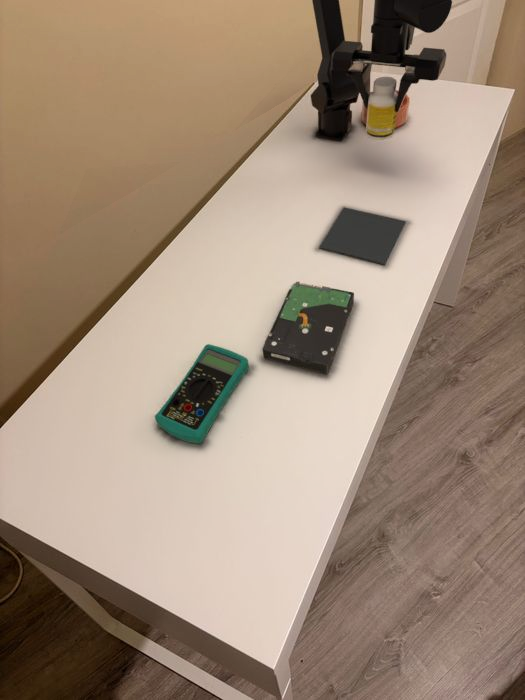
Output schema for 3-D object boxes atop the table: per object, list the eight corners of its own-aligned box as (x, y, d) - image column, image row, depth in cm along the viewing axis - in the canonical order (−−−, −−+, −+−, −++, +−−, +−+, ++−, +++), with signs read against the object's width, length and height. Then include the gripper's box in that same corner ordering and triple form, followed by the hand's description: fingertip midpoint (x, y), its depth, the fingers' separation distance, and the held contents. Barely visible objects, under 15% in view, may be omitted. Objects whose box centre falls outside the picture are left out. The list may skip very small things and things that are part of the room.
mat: (319, 248, 88) (319, 246, 88) (343, 208, 94) (343, 207, 94) (384, 265, 84) (384, 263, 84) (405, 222, 90) (405, 221, 90)
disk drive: (329, 376, 72) (354, 302, 80) (330, 365, 70) (355, 290, 78) (263, 360, 75) (292, 290, 83) (261, 349, 73) (292, 278, 80)
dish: (355, 127, 111) (356, 107, 108) (370, 106, 116) (371, 86, 113) (398, 134, 108) (401, 114, 104) (412, 112, 113) (415, 92, 110)
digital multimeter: (155, 429, 69) (149, 419, 67) (209, 351, 77) (206, 339, 74) (199, 449, 67) (195, 439, 64) (251, 367, 74) (249, 355, 72)
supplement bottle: (396, 140, 94) (403, 87, 86) (367, 142, 94) (371, 90, 87) (391, 125, 97) (397, 73, 90) (364, 128, 98) (367, 76, 90)
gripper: (462, -3, 81) (443, 94, 93) (352, -9, 87) (348, 83, 99) (446, 24, 75) (428, 124, 87) (330, 16, 81) (329, 110, 93)
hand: (382, 109), depth 92 cm, fingers closed on supplement bottle, 5 cm apart
